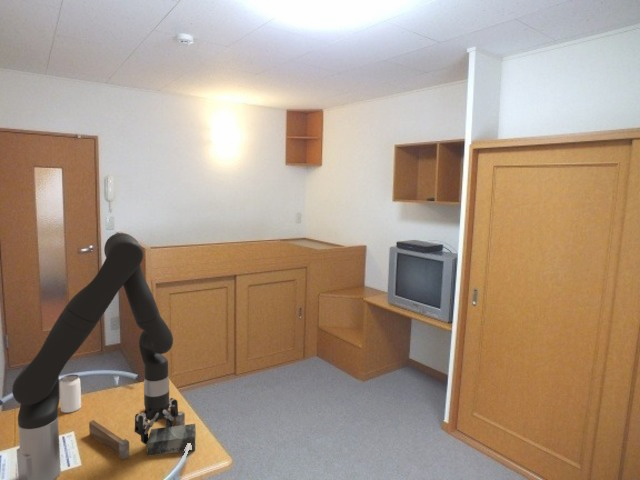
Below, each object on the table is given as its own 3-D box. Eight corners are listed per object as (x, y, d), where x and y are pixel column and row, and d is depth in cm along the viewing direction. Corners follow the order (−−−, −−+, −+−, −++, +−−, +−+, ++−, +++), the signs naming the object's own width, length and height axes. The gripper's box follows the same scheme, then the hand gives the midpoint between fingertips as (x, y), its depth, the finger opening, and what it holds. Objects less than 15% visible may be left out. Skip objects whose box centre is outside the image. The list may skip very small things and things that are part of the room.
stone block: (151, 440, 138) (151, 425, 137) (196, 435, 141) (196, 421, 141) (146, 457, 129) (146, 441, 129) (195, 451, 133) (195, 436, 132)
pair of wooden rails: (123, 459, 127) (122, 444, 127) (88, 435, 138) (88, 421, 138) (184, 426, 146) (184, 412, 145) (150, 407, 157) (149, 394, 156)
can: (56, 411, 152) (54, 380, 150) (71, 402, 158) (70, 372, 156) (70, 415, 150) (69, 383, 148) (85, 406, 156) (84, 375, 154)
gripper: (143, 402, 126) (144, 452, 128) (182, 385, 137) (183, 430, 139) (129, 394, 130) (130, 443, 132) (168, 378, 141) (169, 423, 144)
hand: (157, 436), depth 136 cm, fingers open, 8 cm apart
